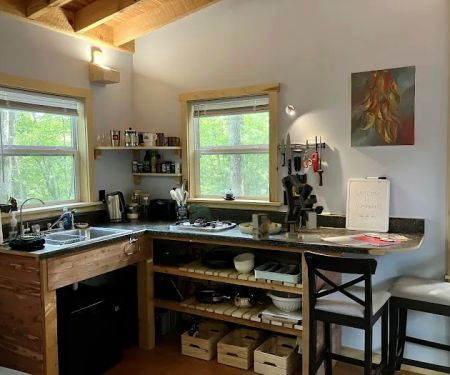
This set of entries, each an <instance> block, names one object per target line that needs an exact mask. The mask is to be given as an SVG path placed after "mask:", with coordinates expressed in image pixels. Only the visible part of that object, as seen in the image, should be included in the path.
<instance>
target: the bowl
mask: <svg viewBox="0 0 450 375" xmlns="http://www.w3.org/2000/svg"><path fill="white" fill-rule="evenodd" d="M238 229H239V230H240V232H241V233H243V234H247V235H253V221H251V222H243V223H240V224H239V225H238ZM281 229H282V224H281V223H276V222H272V220H270V219H269V235H275V234H278V233H279V232H281ZM274 233H275V234H274Z"/></svg>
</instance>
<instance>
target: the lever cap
mask: <svg viewBox="0 0 450 375" xmlns="http://www.w3.org/2000/svg"><path fill="white" fill-rule="evenodd" d="M306 215H307V217H308V222H307V221H306V220H305V223H306V224H305V228H306V229H308V230H309V229H311V230H313V229H317V221H316V212H306Z"/></svg>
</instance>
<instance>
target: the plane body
mask: <svg viewBox="0 0 450 375" xmlns="http://www.w3.org/2000/svg"><path fill="white" fill-rule="evenodd" d="M300 241H301V240H300V234H299V232H294V225H290V232H286V233H285V242H286V243H288V242H289V243H300Z"/></svg>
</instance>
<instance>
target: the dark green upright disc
mask: <svg viewBox="0 0 450 375" xmlns="http://www.w3.org/2000/svg"><path fill="white" fill-rule="evenodd" d="M196 202H199V199H198V200H195V201H194V204H192V203H189V205H188V206H187V212H188V213H189V216H188V223H190V224H194V223H195V224H196V220H197V219H198V218H203V219H204V220H205V223H206V222H211V223H212V218H213V217H212V211H211V209H210V206H209V205H208V204H204V203H202V204H200V205H198V204H196Z"/></svg>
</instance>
